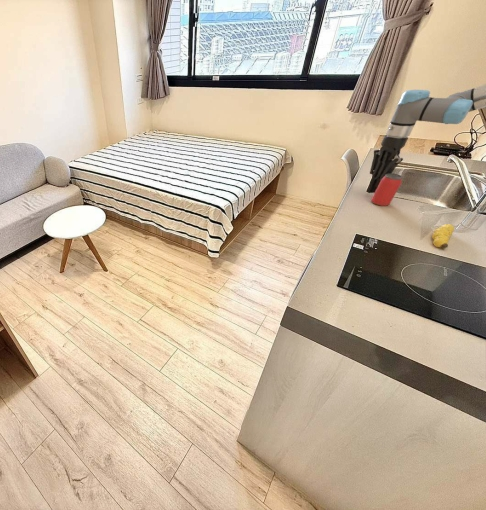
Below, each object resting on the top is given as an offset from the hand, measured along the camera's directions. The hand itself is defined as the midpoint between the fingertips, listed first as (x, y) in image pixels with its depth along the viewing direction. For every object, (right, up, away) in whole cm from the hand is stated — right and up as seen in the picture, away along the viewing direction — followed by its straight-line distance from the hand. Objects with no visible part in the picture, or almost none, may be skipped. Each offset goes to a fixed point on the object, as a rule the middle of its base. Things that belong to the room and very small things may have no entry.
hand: (370, 192), depth 122 cm
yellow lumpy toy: (+1, -22, -27) cm, 35 cm away
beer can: (0, -6, -4) cm, 7 cm away
